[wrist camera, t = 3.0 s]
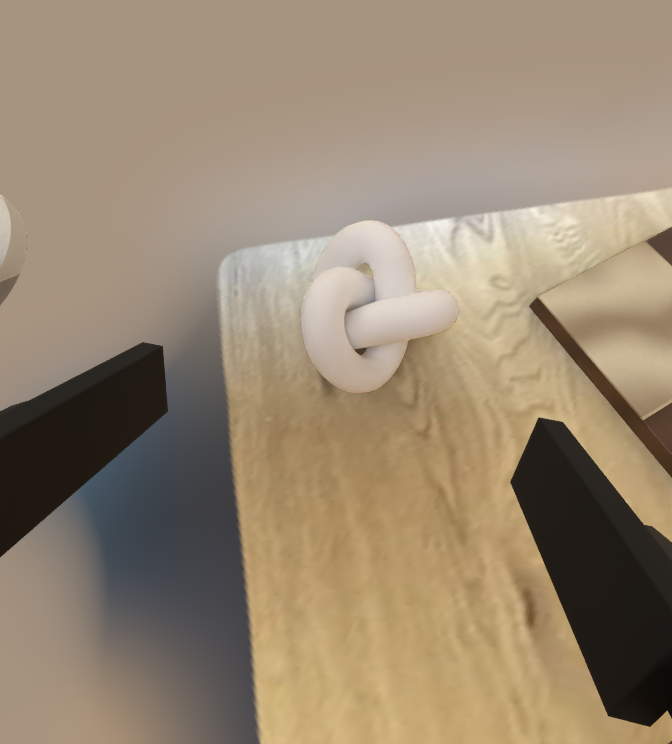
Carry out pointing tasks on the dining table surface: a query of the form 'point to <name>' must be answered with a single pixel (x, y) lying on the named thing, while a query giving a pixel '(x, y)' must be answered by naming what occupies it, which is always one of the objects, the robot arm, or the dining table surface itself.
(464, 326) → the dining table surface
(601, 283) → the board
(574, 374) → the dining table surface
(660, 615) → the robot arm
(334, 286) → the white knot sculpture
